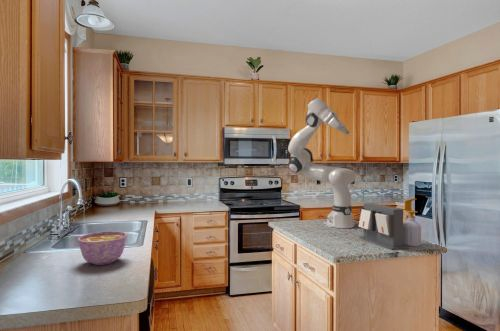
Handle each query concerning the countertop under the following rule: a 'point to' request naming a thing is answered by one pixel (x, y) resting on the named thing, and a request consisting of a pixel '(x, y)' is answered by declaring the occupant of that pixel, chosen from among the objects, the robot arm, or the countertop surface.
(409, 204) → the soap bottle
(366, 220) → the block
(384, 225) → the block
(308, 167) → the robot arm
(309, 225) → the countertop surface
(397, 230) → the power panel
